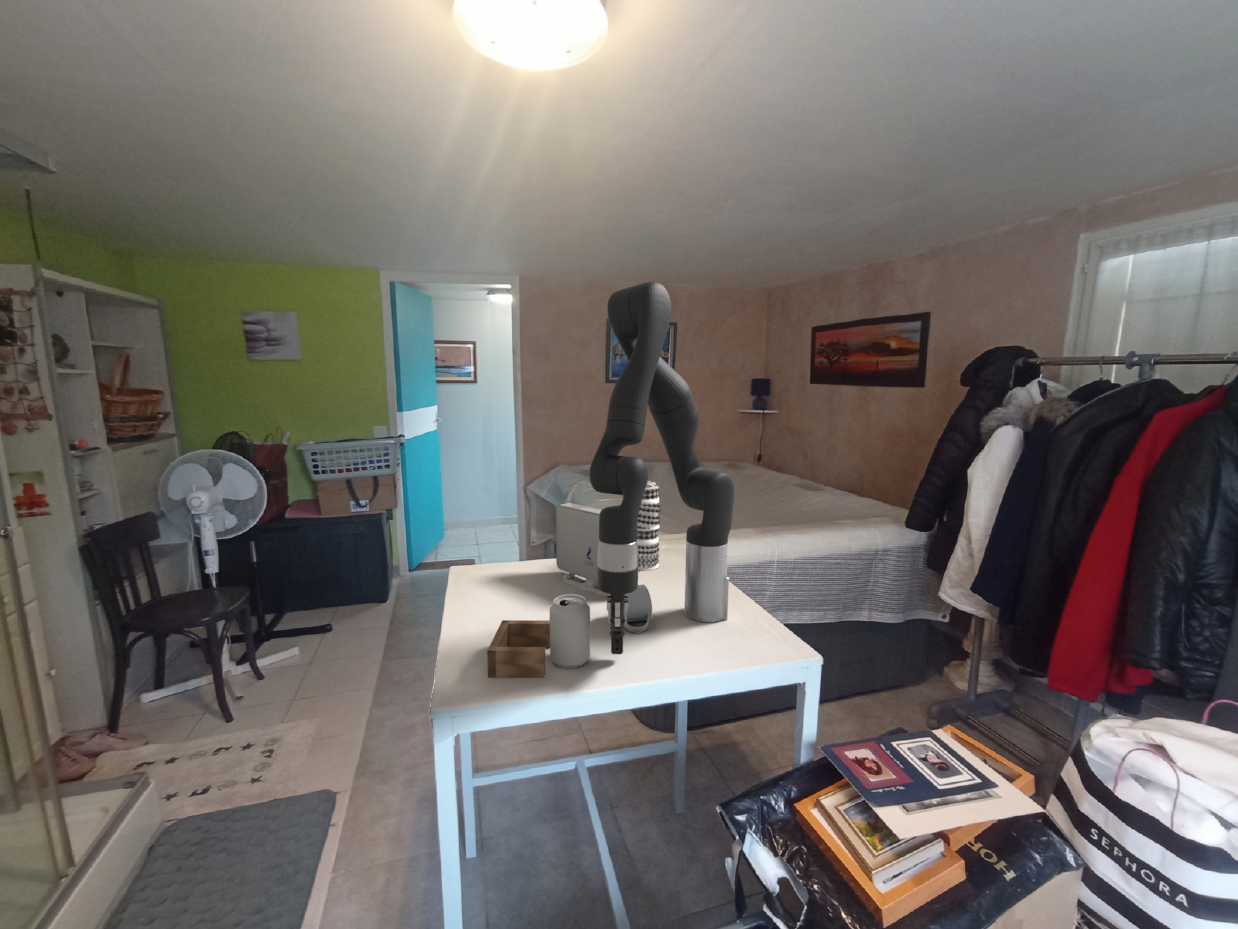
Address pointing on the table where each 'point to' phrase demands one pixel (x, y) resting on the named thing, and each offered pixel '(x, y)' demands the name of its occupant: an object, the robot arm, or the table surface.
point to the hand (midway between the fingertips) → (617, 652)
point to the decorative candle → (648, 528)
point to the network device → (578, 544)
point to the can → (569, 631)
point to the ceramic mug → (639, 608)
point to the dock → (519, 649)
